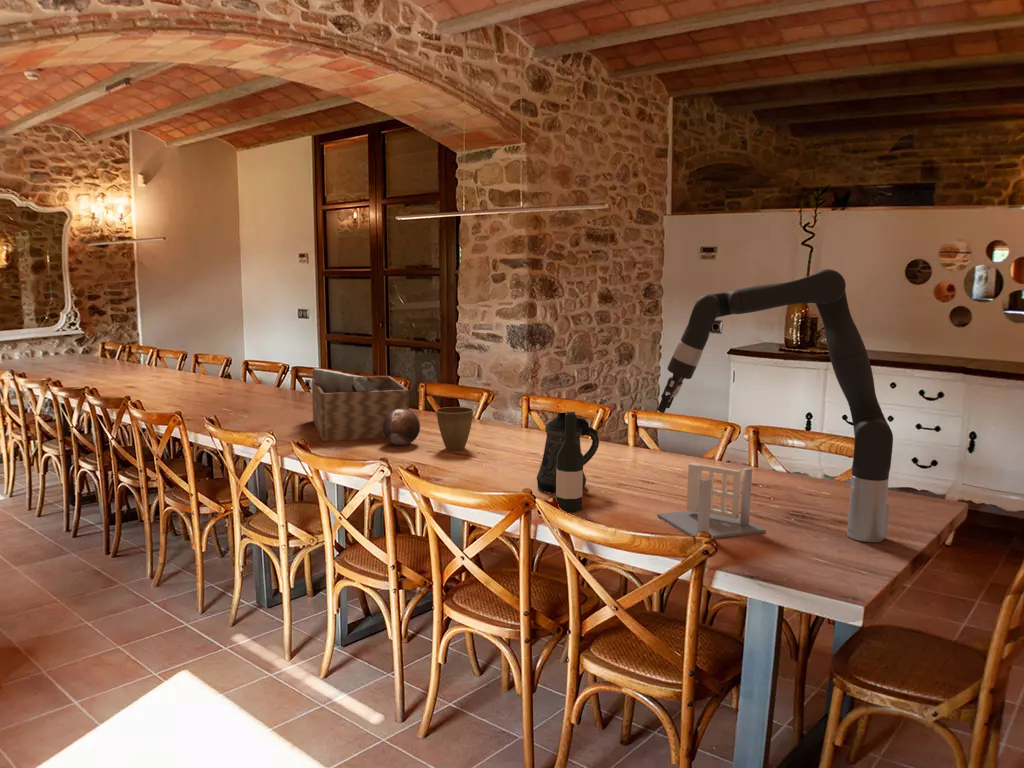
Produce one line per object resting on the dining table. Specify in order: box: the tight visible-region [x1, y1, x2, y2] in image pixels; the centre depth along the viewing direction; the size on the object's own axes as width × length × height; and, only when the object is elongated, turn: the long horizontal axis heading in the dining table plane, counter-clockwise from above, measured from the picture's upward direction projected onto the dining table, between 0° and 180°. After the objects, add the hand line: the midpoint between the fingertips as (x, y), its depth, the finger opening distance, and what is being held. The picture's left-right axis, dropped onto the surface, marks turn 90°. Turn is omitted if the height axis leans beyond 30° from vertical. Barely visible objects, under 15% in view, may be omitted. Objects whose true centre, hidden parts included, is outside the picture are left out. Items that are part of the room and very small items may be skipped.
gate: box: [686, 461, 742, 519], centre depth 227 cm, size 15×3×14 cm, turn 54°
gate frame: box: [657, 467, 766, 539], centre depth 223 cm, size 22×22×17 cm
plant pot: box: [435, 406, 474, 452], centre depth 313 cm, size 15×15×16 cm
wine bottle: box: [555, 410, 584, 513], centre depth 236 cm, size 8×8×30 cm
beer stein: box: [536, 412, 600, 494], centre depth 259 cm, size 16×19×25 cm
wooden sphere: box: [383, 408, 421, 446], centre depth 319 cm, size 15×15×15 cm
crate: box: [311, 375, 410, 442], centre depth 350 cm, size 36×45×20 cm
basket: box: [312, 367, 391, 393], centre depth 350 cm, size 40×31×28 cm
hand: (663, 409), depth 231 cm, fingers open, 8 cm apart
